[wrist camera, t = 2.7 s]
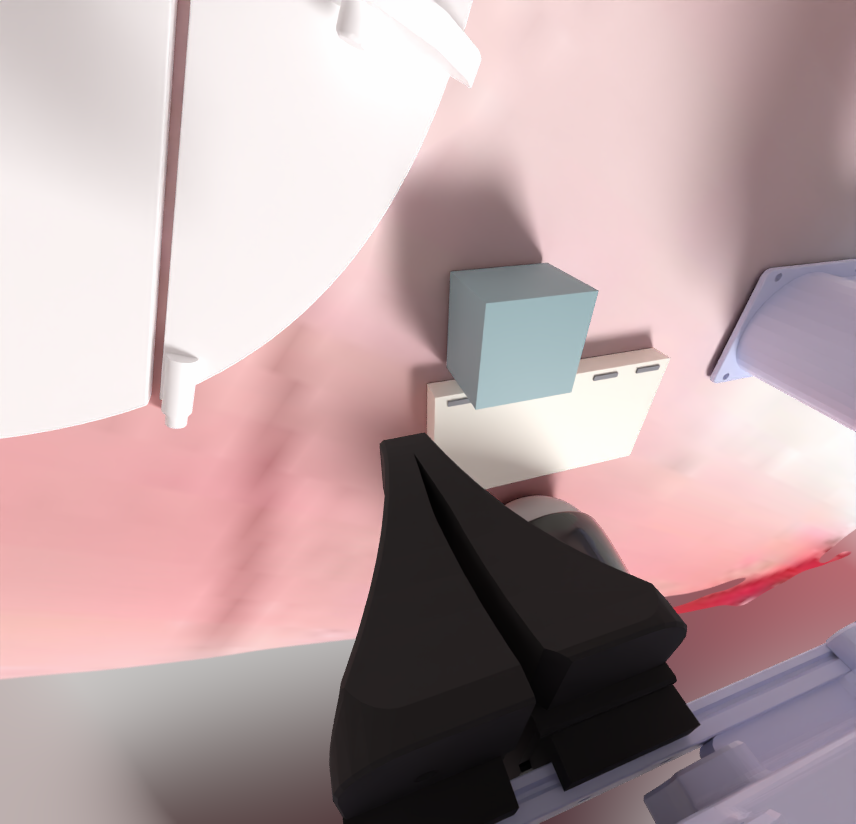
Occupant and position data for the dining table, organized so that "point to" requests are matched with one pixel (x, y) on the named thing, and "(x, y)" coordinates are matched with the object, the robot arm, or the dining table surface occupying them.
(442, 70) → the lazy susan
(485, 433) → the white slotted box
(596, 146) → the dining table surface
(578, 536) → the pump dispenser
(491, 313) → the pale blue cube
